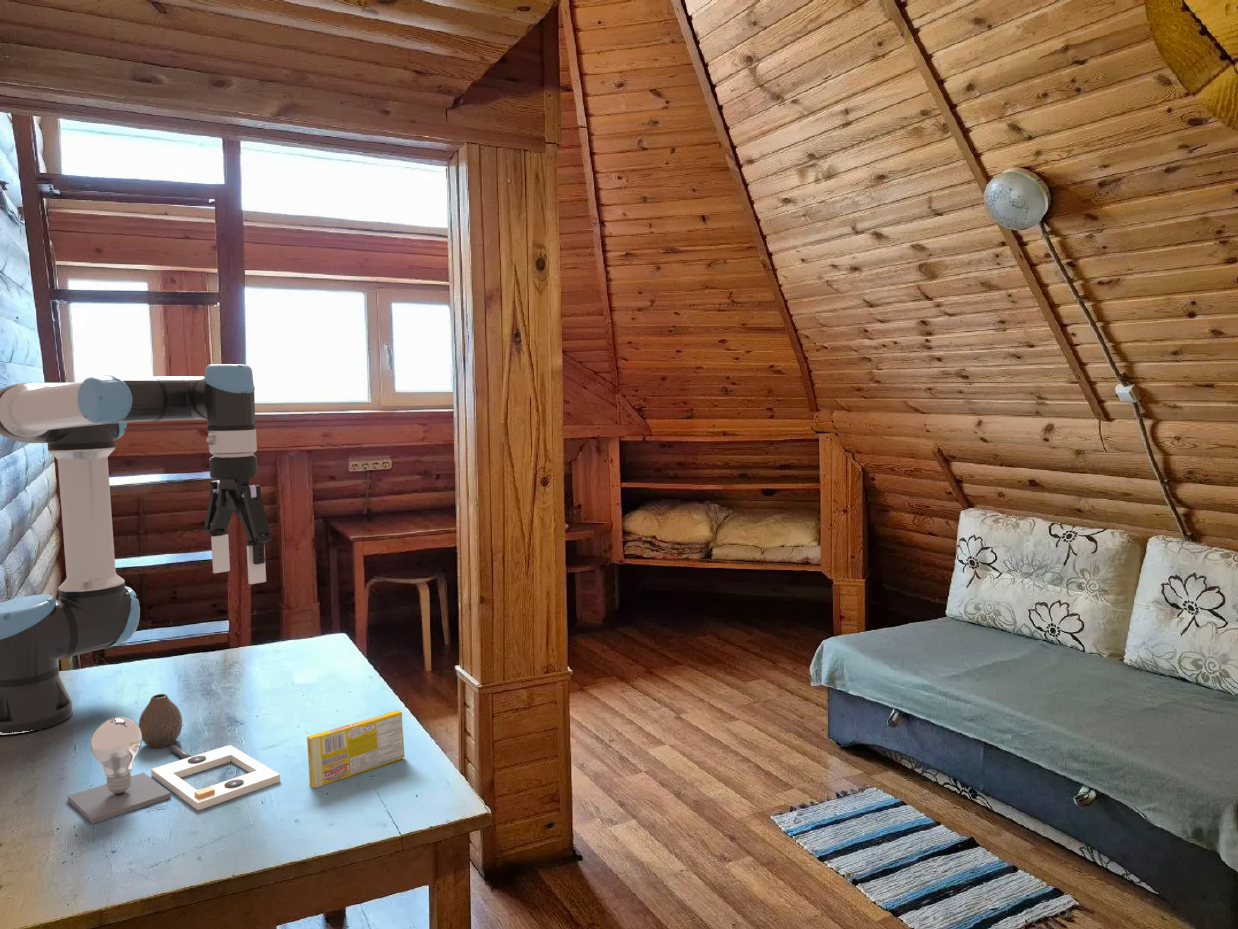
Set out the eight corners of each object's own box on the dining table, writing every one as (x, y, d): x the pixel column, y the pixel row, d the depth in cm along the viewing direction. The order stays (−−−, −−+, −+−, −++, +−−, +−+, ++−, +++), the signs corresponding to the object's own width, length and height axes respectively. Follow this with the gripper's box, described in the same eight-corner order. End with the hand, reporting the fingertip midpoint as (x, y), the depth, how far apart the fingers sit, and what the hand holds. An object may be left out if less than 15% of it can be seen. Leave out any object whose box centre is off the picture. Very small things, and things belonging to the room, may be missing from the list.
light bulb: (91, 808, 133) (86, 730, 132) (95, 789, 139) (91, 715, 138) (144, 798, 136) (139, 722, 135) (146, 780, 142) (141, 707, 141)
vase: (165, 752, 155) (162, 704, 154) (130, 750, 157) (128, 701, 156) (191, 737, 162) (189, 690, 161) (158, 734, 163) (155, 688, 163)
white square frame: (133, 762, 151) (132, 752, 151) (210, 739, 161) (210, 729, 161) (198, 810, 134) (197, 798, 134) (280, 781, 143) (279, 770, 143)
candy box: (399, 755, 153) (397, 709, 153) (405, 759, 152) (403, 712, 151) (308, 785, 142) (306, 735, 142) (313, 789, 141) (311, 738, 140)
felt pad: (68, 801, 137) (67, 796, 137) (143, 777, 145) (143, 772, 145) (92, 824, 130) (92, 818, 130) (171, 797, 138) (170, 792, 138)
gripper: (180, 453, 157) (186, 570, 159) (245, 460, 141) (251, 591, 143) (222, 450, 163) (228, 564, 165) (289, 457, 146) (295, 583, 148)
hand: (238, 577), depth 154 cm, fingers open, 13 cm apart
